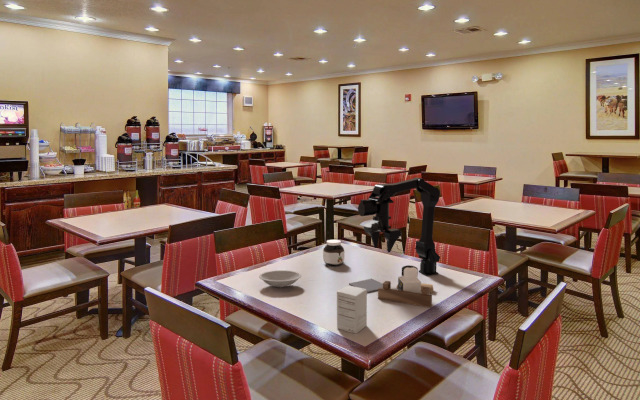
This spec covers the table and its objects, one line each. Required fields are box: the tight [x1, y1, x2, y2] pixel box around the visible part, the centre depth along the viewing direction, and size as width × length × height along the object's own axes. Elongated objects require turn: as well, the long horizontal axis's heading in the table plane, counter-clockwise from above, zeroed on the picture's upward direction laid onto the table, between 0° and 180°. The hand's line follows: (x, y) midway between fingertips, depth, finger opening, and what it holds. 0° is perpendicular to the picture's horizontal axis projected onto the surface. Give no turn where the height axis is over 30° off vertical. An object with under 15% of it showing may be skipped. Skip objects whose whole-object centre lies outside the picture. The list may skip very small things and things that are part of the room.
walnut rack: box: [377, 280, 433, 308], centre depth 162 cm, size 4×20×6 cm, turn 63°
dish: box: [258, 270, 302, 288], centre depth 178 cm, size 18×14×5 cm
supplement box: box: [336, 284, 368, 334], centre depth 139 cm, size 7×7×13 cm
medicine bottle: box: [397, 264, 422, 294], centre depth 166 cm, size 7×7×12 cm
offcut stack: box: [396, 282, 434, 294], centre depth 175 cm, size 4×14×2 cm, turn 63°
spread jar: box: [322, 239, 345, 267], centre depth 212 cm, size 12×11×12 cm
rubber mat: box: [348, 278, 384, 294], centre depth 179 cm, size 12×12×1 cm
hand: (382, 249), depth 184 cm, fingers open, 9 cm apart
